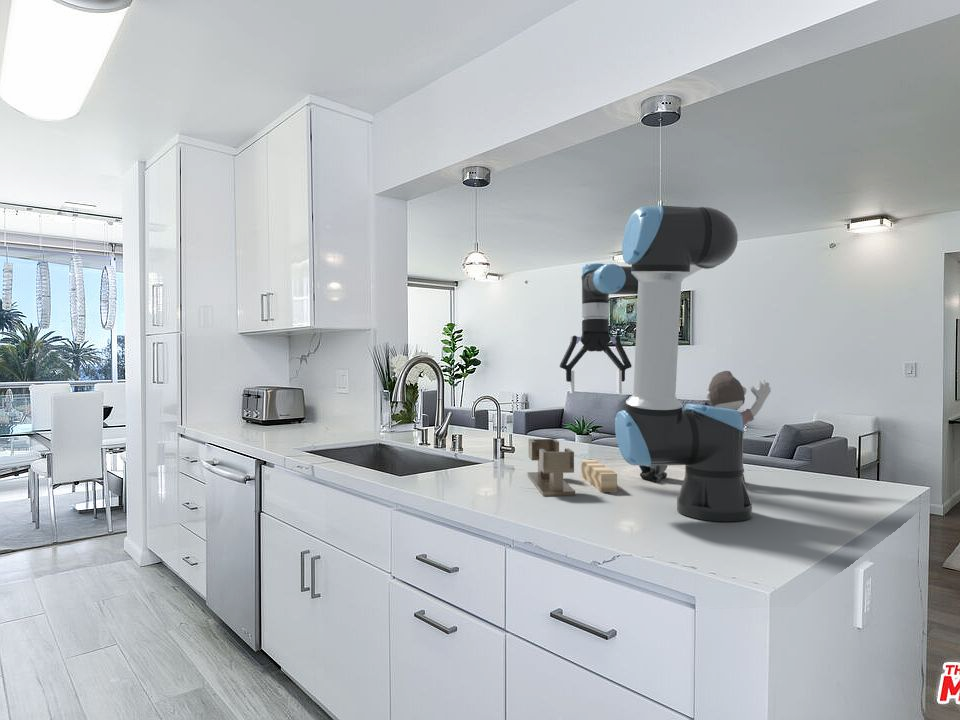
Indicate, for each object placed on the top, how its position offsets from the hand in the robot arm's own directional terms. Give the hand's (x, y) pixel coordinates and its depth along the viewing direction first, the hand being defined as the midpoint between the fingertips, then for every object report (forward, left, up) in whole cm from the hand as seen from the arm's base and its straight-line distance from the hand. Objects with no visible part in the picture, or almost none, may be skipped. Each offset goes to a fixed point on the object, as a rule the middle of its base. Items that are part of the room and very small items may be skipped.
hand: (595, 393), depth 173 cm
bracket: (-12, +16, -23) cm, 30 cm away
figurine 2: (-13, -34, -24) cm, 44 cm away
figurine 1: (-7, -14, -24) cm, 28 cm away
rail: (-12, +3, -24) cm, 27 cm away
